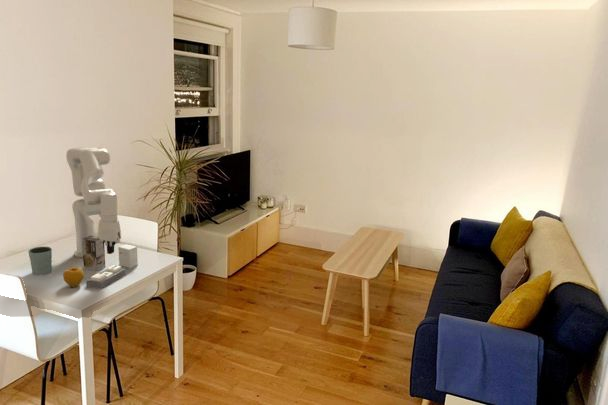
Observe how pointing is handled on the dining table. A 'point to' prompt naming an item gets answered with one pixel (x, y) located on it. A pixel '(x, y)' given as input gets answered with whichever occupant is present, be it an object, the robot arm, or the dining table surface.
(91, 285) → the keypad housing
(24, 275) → the dining table surface
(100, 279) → the key
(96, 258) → the coffee box
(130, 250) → the small box
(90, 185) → the robot arm
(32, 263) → the green cup
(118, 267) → the key
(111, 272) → the key middle
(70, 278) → the apple
